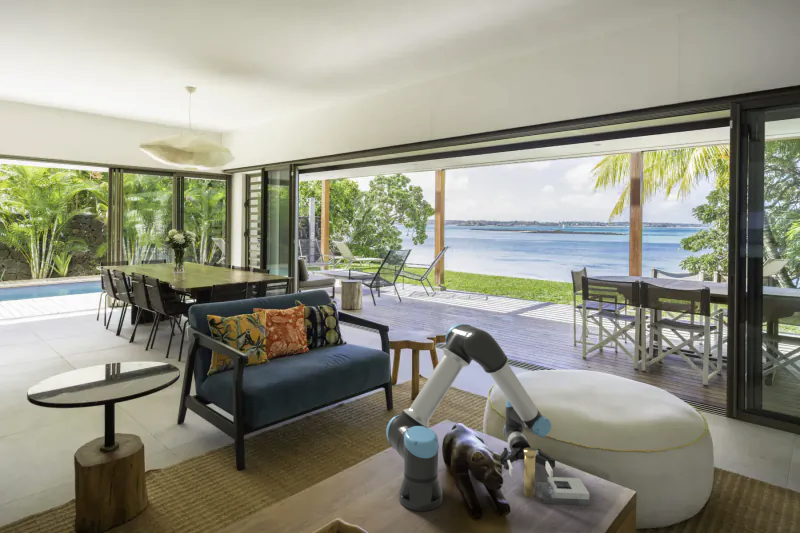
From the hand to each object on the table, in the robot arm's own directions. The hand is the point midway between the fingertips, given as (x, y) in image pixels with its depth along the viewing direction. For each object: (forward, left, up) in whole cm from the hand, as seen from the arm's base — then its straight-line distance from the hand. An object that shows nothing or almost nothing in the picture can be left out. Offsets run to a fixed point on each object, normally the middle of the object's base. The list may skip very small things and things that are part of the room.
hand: (531, 473), depth 159 cm
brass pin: (0, +2, -9) cm, 9 cm away
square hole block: (+11, +2, -9) cm, 15 cm away
